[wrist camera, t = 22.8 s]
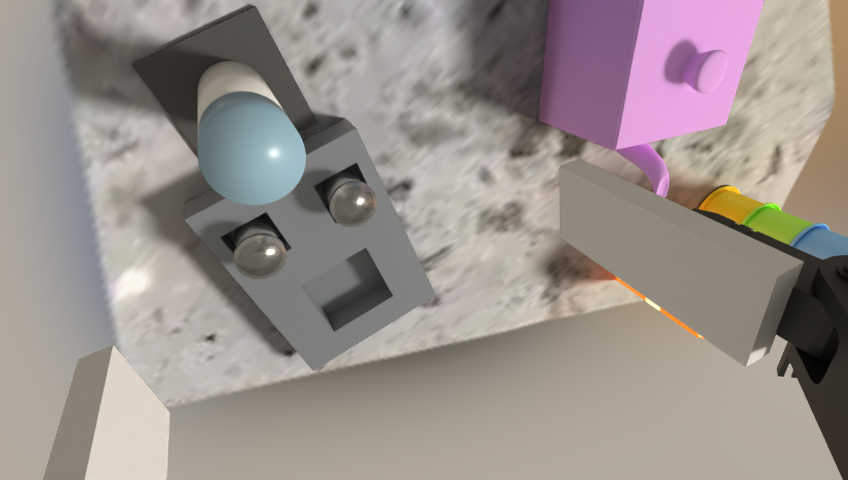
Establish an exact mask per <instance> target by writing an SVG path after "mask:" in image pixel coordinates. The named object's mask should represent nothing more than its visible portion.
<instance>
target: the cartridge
mask: <svg viewBox="0 0 848 480" xmlns="http://www.w3.org/2000/svg"><path fill="white" fill-rule="evenodd" d="M198 161H199V166H200V169H201V172H202V174H203V176H204V178H205V180H206V181H207V183H208V184H209V185H210V186H211V187H212V188H213V189H214V190H215V191H216V192H217V193H219V194H220V195H221V196H223V197H225V198H227V199H229V200H231V201H233V202H237V203H240V204H246V205H262V204H268V203H271V202H274V201H277V200H279V199H281V198H282V197H284V196H286V195H287V194H288V193H290V192H291V191H292V190H293V189H294V188H295V187H296V185H297V184H298V183H299V181H300V179H301V177H302V175H303V172H304V169H305V164H306V152H305V147H304V143H303V141H302V138H301V136H300V135H299V133H298V131H297V130H296V128H295V127H294V125H293V124H292V122H291V121H290V119H289V118H288V116H287V115H286V113H285V112H284V110H283V108H282V107H281V105H280V104H279V102H278V101H277V99H276V98H275V96H274V95H273V93H272V92H271V90H270V89H269V87H268V86H267V84H266V82H265V81H264V79H263V78H262V77H261V75H260V74H259V73H258V72H257V71H256V70H254V69H253V68H252V67H250V66H248V65H246V64H244V63H241V62H237V61H222V62H218V63H216V64H214V65H212V66H210V67H209V68H208V69H207V70H206V71H205V72H204V73H203V74H202V76H201V78H200V80H199V83H198Z"/></svg>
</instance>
